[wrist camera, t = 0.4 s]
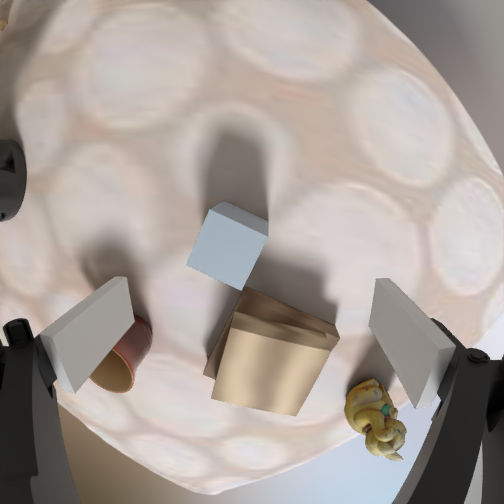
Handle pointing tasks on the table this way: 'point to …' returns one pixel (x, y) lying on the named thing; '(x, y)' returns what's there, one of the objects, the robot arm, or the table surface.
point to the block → (229, 244)
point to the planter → (2, 23)
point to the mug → (124, 359)
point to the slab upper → (269, 365)
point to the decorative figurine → (375, 419)
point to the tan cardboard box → (272, 311)
